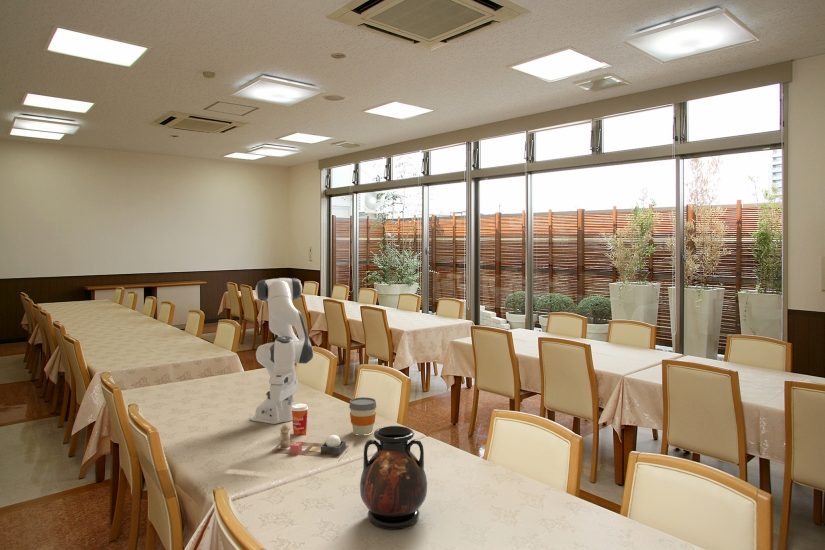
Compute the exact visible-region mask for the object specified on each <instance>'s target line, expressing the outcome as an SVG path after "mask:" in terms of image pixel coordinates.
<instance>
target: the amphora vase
mask: <svg viewBox="0 0 825 550" xmlns="http://www.w3.org/2000/svg"><path fill="white" fill-rule="evenodd" d="M414 436H415V433H414V431H413V430H412V429H411V428H410V427H407V426H406V427H405V426H401V425H388V426H383V427H379V428H376V430H374V431H373V437H374V438H375V439H376V440H375V439H369V440H367V441H366V443H365V445H364V447H363V468H362V469H363V470H362V473H361V476H360V481H359V493H360V497H361V500H362V502H363V504H364V505H365V507H366V508H367V509H368V512H367V517H368V520H369V521H370V523H371V524H373V525H374V526H377V527H379V528H382V529H386V530H387V529H389V530H399V529H403V528H408V527H409V526H411V525H413V524H415V523H416V522H417V520H418V519H419V517H420V511H419V509H420V508H421V506H422V505H423V503H424V502H425V501H426V497H427V493H428V480H427V474H426V472H425V460H424V459H425V457H424V456H425V453H424V445H423V443H422V442H421V440H419V439H413V438H414ZM370 445H371V446H372V445H374V446H375V447H376V452H374V454H373V455H372V456H371V458H368V457H369V456H368V450H369V447H370ZM413 445H417V446H418V447H419V459H418V458H417V457H416V455H415V454H414V453H413V451H411V448H412V446H413Z"/></svg>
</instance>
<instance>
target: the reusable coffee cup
mask: <svg viewBox="0 0 825 550" xmlns="http://www.w3.org/2000/svg"><path fill="white" fill-rule="evenodd" d="M348 408H349V409H350V413H349V417H350V423H351V425H352V433H354V434H358V435H364V434H369V433H371V432H372V431H373V432H374V424H375V422H376V414H377V412H376V408H377V400H376V399H375V398H372V397H366V396H365V397H364V396H363V397H355V398H352V399H350V400H349V407H348ZM373 432H372V433H373ZM354 434H353V435H354Z"/></svg>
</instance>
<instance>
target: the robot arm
mask: <svg viewBox="0 0 825 550" xmlns="http://www.w3.org/2000/svg"><path fill="white" fill-rule="evenodd" d="M254 289H255V295H256V296H257V299H258V300H259V301H261V302H266V301H267V306H268V307H267V308H268V329H269V331H270V332H271V333H272V334H274V335H277V336H278V337H277V338H275V340H274V342H268V343H264V344H260V345H259V346H258V347H257V349H256V351H255V357H256V361H257V362H258V363H259V365H261V366H263V367H264V369H265V370H266V371H267V373H268V376H269V379H268V383H269V385H270V386H269V391H267V392H266V393H265V396H267V397H266V398H265V399H263V401H261V402H260V403H259V404H258V405H257V406H256V408H255V411H254V412H255V413H253V415H251V417H250V421H253V422H260V423H266V424H272V425H274V424H275V425H276V424H279V423H287V422H291V421H293V420H292V410H291V408H292V406H293V405H295V403H294V401H295V394H296V393H297V392H298V390H299V382H298V381H299V380H298V376H297V375H296V364H303V365H304V364H308V363H310V361H311V360H312V359H314V348H313V346H312V343H311V340H310V337H309V333H308V330H307V327H306V324H305V321H304V317H303V314H302V312H301V311H300V310H298V309H297V308H296V307H295V305H294V303H293V302H295V300H298V299H299V298H300V297H301V296H302V292H303V285H302V283H301V280H300V279H298V278H295V277H292V278H289V277H278V278H270V279H261V280H259V281H258V282H257V283H256V286H255V288H254ZM293 327H294V328H295V329H296V334H297V335H296V334H295V331H294V329H293Z"/></svg>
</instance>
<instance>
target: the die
mask: <svg viewBox="0 0 825 550" xmlns="http://www.w3.org/2000/svg"><path fill="white" fill-rule="evenodd" d="M298 442H299V441H295V442H293V443H292V444H291V445H290V454H289V455H292V454H298V455H297V456H300V455H299V454H300V453H301V452H302V443H298Z"/></svg>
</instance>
